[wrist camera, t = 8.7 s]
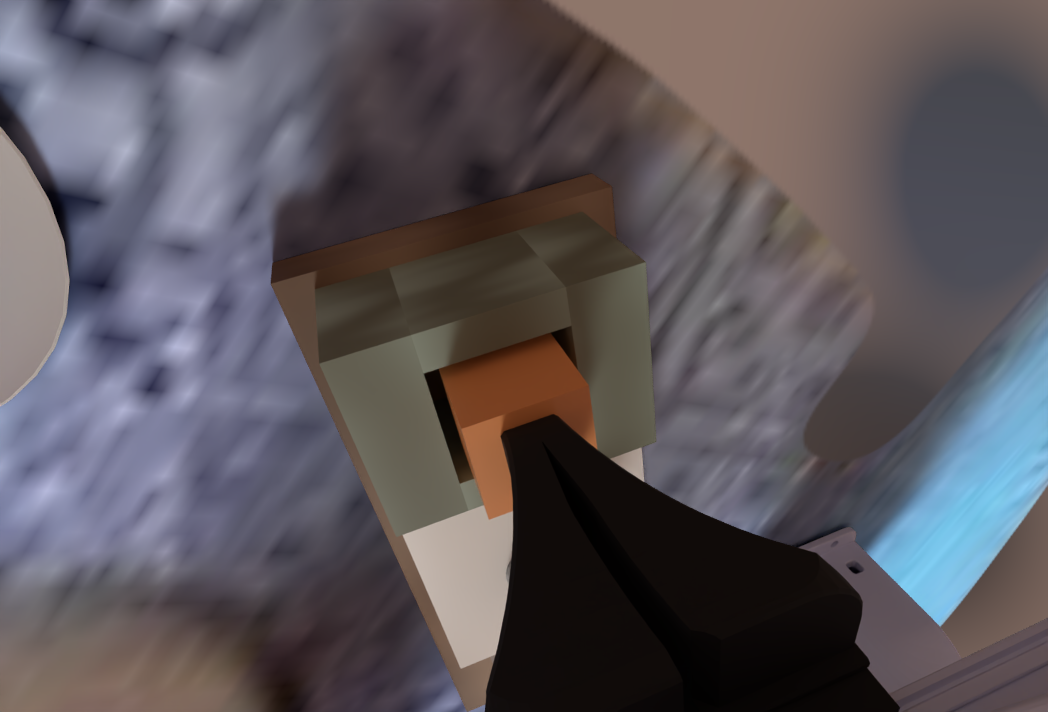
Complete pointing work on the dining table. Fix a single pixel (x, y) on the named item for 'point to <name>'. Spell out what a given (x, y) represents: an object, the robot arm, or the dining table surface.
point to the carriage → (474, 572)
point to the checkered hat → (27, 273)
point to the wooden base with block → (466, 345)
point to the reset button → (512, 406)
